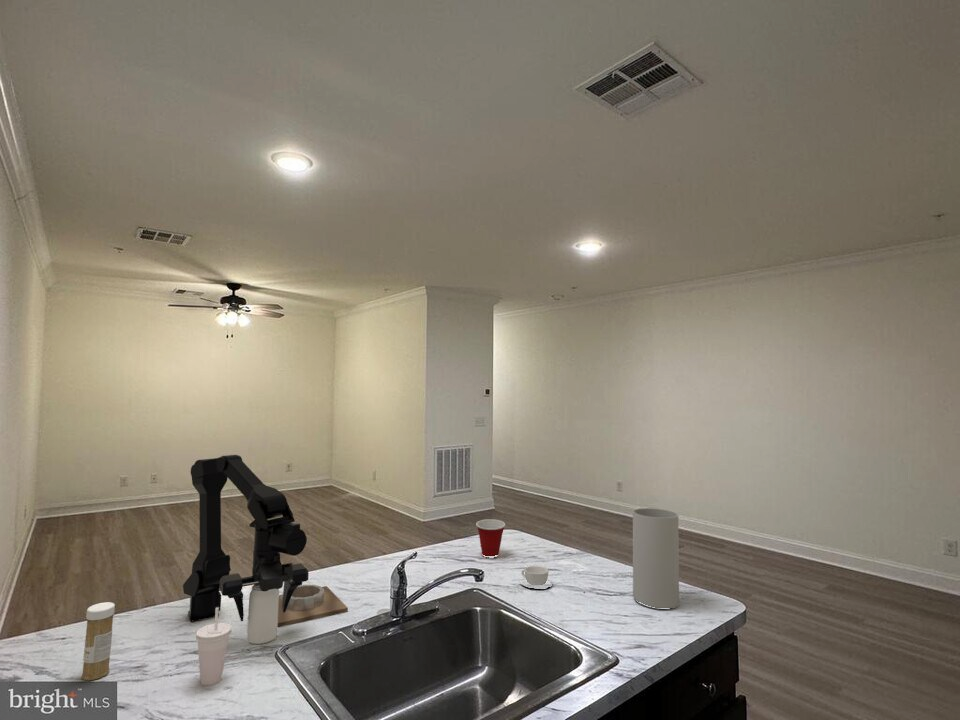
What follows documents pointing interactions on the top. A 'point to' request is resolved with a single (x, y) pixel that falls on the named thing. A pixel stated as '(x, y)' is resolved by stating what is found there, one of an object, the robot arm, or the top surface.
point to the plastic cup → (490, 536)
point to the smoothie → (212, 650)
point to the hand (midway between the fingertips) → (263, 616)
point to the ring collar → (306, 598)
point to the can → (262, 615)
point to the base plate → (312, 610)
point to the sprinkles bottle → (98, 640)
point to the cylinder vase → (656, 557)
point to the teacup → (535, 575)
